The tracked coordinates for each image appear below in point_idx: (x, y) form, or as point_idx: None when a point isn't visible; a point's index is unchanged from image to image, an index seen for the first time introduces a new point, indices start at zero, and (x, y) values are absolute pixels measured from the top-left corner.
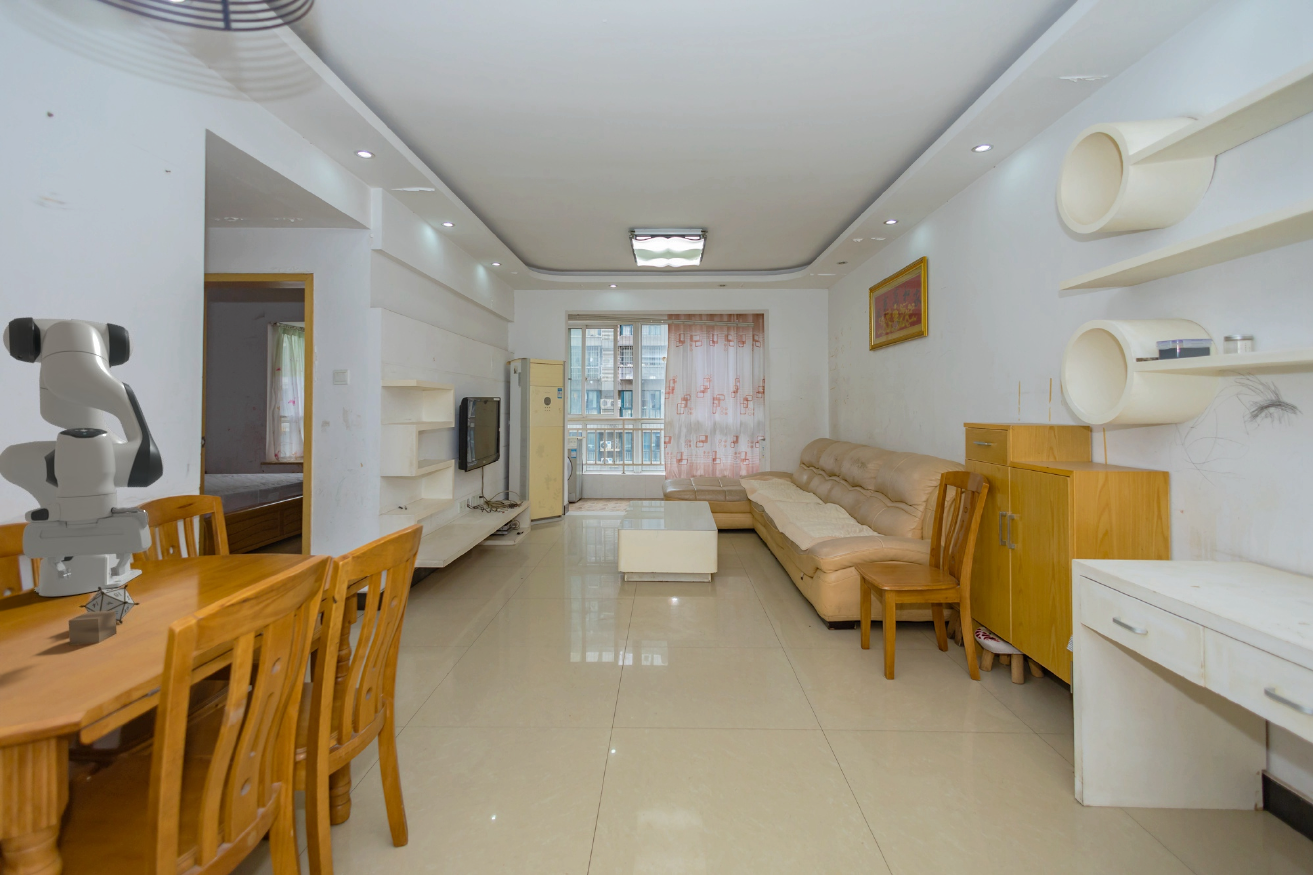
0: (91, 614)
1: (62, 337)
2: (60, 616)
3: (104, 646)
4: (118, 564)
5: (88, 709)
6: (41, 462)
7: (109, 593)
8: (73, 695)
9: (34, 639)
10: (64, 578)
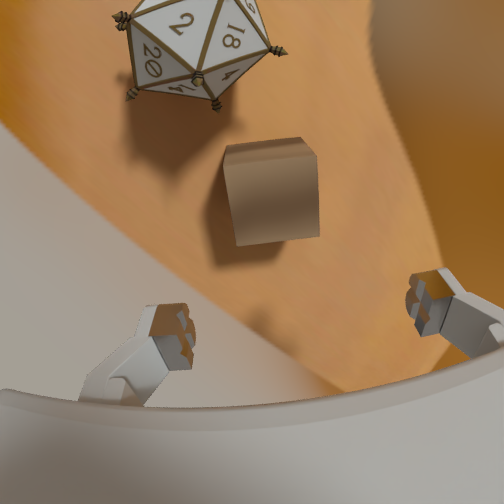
0: (263, 194)
1: None
2: (14, 21)
3: (336, 228)
4: (459, 342)
5: None
6: None
7: (210, 54)
8: (394, 372)
9: (104, 172)
10: (194, 332)
